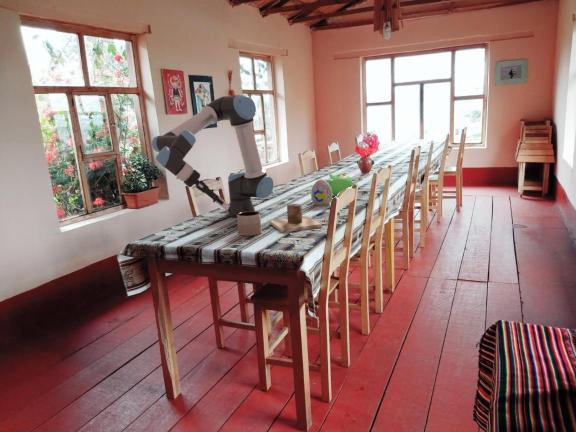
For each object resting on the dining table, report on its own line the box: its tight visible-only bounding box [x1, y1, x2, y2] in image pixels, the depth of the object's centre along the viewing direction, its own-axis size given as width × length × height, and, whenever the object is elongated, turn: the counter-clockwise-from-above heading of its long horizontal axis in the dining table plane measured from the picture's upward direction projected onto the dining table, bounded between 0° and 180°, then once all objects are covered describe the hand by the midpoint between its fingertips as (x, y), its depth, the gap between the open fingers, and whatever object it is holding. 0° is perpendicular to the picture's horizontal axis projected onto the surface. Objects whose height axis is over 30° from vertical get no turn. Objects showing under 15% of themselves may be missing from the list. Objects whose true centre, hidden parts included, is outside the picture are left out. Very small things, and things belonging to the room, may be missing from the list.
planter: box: [236, 210, 262, 237], centre depth 213 cm, size 11×11×10 cm
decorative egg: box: [310, 179, 333, 207], centre depth 268 cm, size 12×12×15 cm
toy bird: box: [324, 172, 355, 197], centre depth 290 cm, size 18×17×15 cm
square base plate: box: [269, 203, 323, 233], centre depth 223 cm, size 20×20×10 cm
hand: (225, 205), depth 208 cm, fingers open, 13 cm apart
